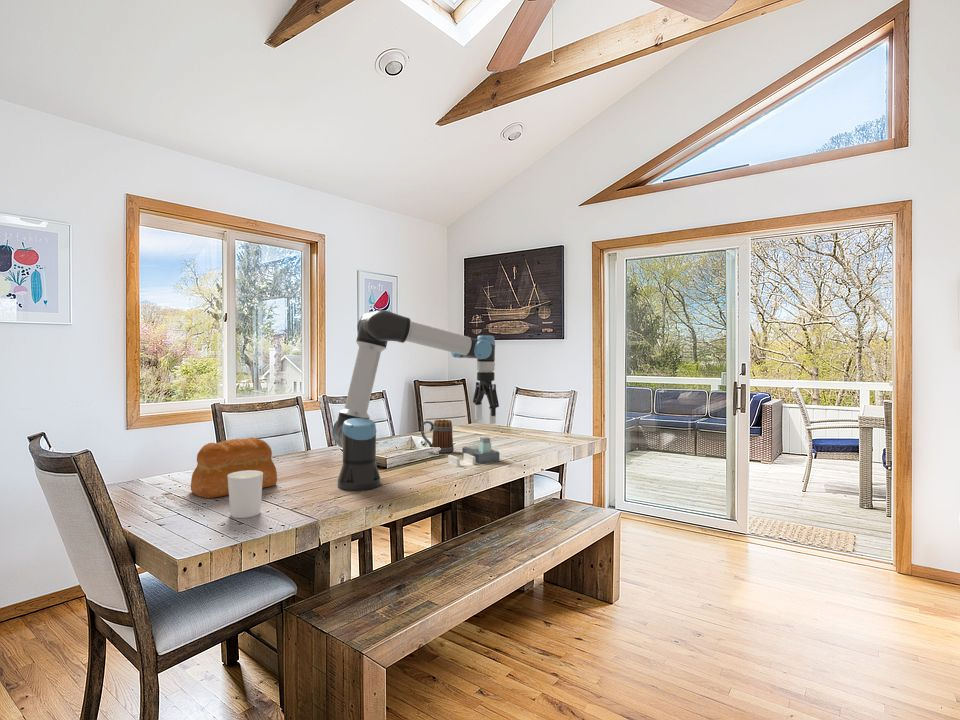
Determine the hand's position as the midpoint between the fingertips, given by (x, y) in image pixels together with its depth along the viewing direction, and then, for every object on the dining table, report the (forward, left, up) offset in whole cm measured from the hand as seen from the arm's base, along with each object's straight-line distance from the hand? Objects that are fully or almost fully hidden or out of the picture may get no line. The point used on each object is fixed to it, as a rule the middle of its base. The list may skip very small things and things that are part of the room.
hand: (485, 421), depth 234 cm
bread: (-98, 0, -18) cm, 100 cm away
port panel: (0, +4, -18) cm, 18 cm away
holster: (-11, 0, -18) cm, 21 cm away
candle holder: (-97, -31, -18) cm, 103 cm away
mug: (-10, +29, -18) cm, 36 cm away
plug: (0, 0, -18) cm, 18 cm away
